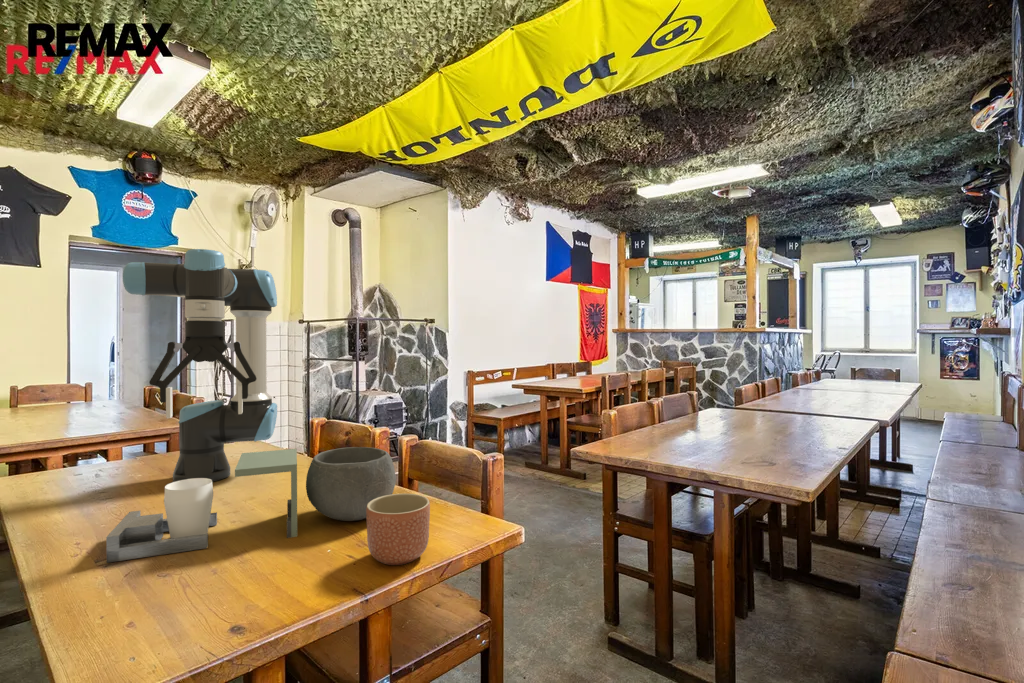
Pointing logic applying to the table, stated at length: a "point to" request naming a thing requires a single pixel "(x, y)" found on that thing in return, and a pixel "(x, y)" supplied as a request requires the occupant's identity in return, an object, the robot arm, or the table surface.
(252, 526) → the table surface
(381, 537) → the planter
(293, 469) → the shelf
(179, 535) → the cup
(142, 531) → the frame
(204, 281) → the robot arm
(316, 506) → the bowl
